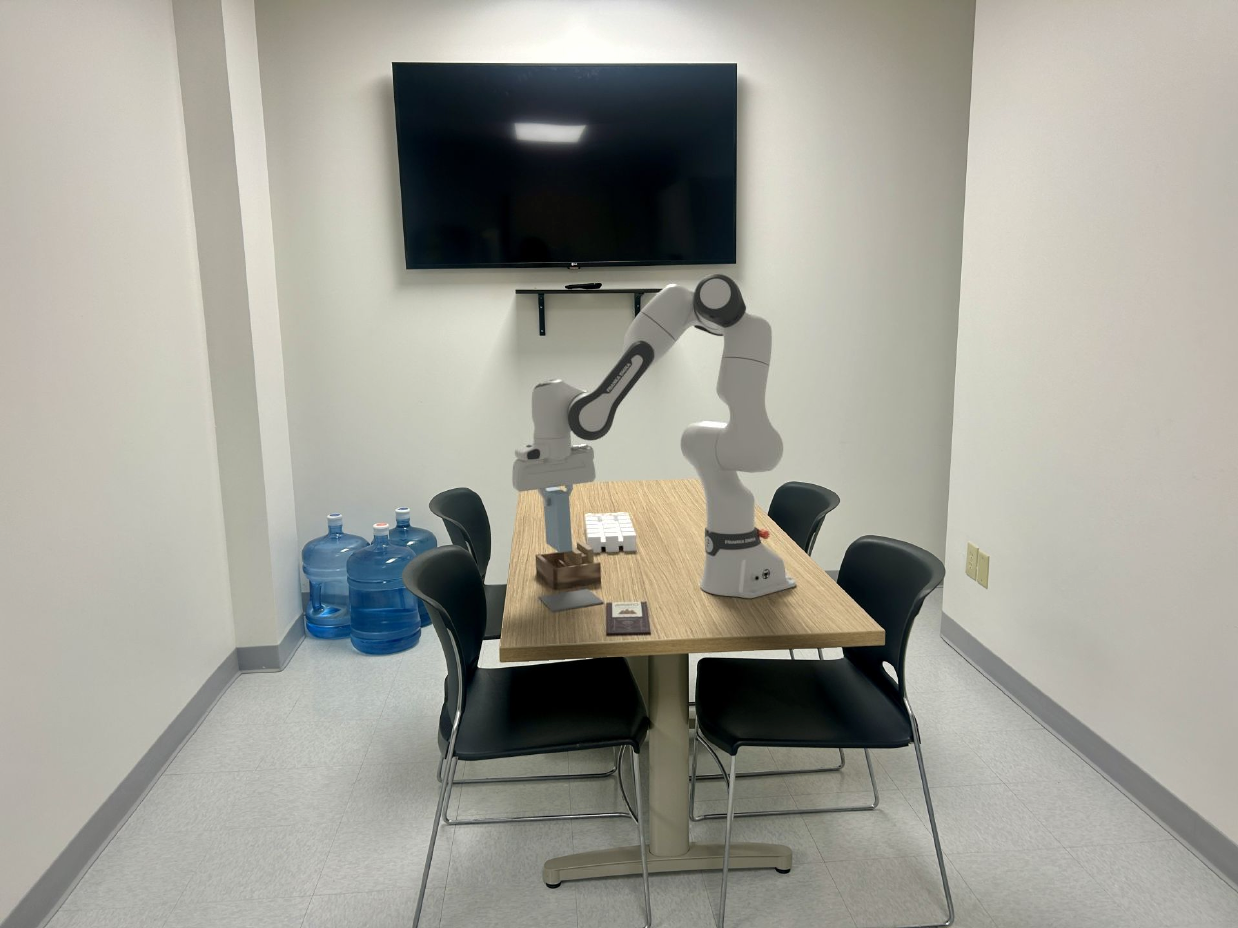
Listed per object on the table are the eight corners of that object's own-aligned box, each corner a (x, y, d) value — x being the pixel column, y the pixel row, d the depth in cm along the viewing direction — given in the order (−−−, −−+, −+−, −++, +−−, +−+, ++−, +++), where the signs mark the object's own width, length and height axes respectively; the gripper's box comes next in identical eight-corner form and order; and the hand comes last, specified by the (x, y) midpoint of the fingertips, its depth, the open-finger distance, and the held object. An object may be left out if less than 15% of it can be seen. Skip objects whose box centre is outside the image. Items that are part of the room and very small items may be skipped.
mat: (587, 590, 193) (587, 588, 193) (603, 603, 184) (603, 601, 184) (538, 598, 188) (538, 596, 188) (552, 611, 179) (552, 610, 179)
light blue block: (558, 541, 205) (554, 486, 203) (572, 550, 196) (568, 493, 194) (546, 543, 204) (542, 488, 201) (559, 552, 195) (556, 495, 192)
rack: (580, 567, 211) (580, 548, 210) (601, 582, 199) (600, 562, 198) (536, 573, 207) (535, 554, 206) (554, 589, 194) (553, 569, 193)
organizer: (588, 537, 224) (584, 508, 258) (588, 554, 224) (584, 523, 259) (635, 535, 224) (625, 506, 259) (636, 552, 225) (626, 521, 260)
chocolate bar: (606, 633, 165) (606, 602, 183) (606, 637, 165) (606, 606, 183) (650, 632, 165) (646, 601, 183) (650, 636, 166) (646, 605, 183)
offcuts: (579, 563, 209) (578, 539, 208) (594, 574, 200) (593, 549, 199) (563, 566, 207) (562, 541, 206) (577, 577, 198) (576, 551, 197)
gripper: (588, 441, 202) (591, 496, 205) (508, 450, 194) (512, 507, 197) (598, 445, 197) (601, 501, 199) (515, 454, 189) (520, 513, 191)
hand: (556, 504), depth 198 cm, fingers closed on light blue block, 3 cm apart
